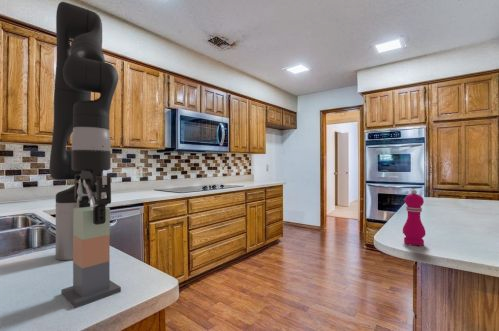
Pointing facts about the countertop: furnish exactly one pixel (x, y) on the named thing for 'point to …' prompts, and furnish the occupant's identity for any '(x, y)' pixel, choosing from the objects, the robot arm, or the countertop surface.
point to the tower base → (89, 297)
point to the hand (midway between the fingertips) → (91, 221)
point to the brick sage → (89, 224)
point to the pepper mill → (414, 220)
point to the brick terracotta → (91, 251)
